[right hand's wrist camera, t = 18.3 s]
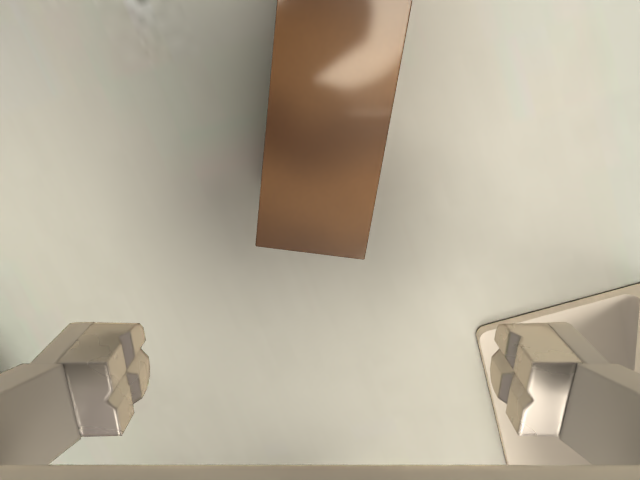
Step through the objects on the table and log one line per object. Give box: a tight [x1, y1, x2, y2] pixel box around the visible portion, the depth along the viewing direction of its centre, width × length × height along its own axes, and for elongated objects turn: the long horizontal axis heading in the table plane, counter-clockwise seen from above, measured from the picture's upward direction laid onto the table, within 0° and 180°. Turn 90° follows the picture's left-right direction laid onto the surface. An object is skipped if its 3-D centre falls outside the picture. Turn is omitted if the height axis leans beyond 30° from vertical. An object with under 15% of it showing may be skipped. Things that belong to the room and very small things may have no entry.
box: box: [256, 0, 412, 259], centre depth 25 cm, size 27×6×9 cm, turn 172°
